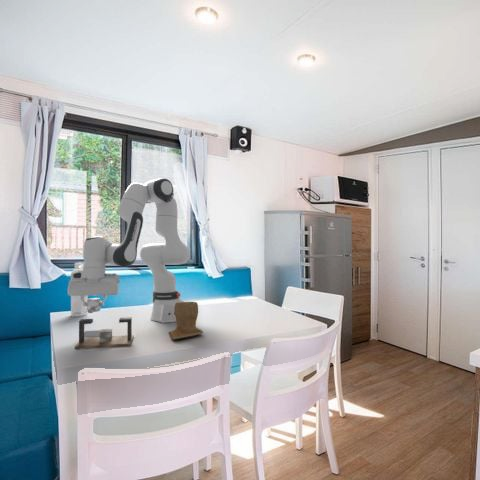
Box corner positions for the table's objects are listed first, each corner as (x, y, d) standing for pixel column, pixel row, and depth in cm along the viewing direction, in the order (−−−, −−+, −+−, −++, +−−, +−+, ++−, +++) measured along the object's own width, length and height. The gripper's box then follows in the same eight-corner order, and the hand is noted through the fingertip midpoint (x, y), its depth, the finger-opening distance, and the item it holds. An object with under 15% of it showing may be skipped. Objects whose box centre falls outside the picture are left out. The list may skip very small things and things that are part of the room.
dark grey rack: (133, 337, 139) (133, 315, 139) (130, 346, 128) (130, 321, 128) (82, 339, 135) (82, 316, 135) (74, 349, 124) (74, 323, 124)
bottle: (76, 317, 171) (76, 263, 171) (67, 315, 175) (67, 262, 175) (90, 314, 178) (91, 262, 178) (81, 312, 182) (82, 261, 182)
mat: (107, 331, 147) (107, 330, 147) (103, 337, 138) (103, 336, 138) (85, 332, 145) (85, 330, 145) (80, 338, 136) (80, 337, 136)
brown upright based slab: (192, 329, 151) (192, 297, 151) (206, 336, 142) (206, 301, 141) (161, 335, 141) (162, 301, 141) (174, 343, 132) (175, 306, 132)
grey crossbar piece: (97, 313, 136) (97, 301, 136) (83, 313, 135) (83, 301, 135) (102, 307, 148) (103, 296, 148) (90, 308, 147) (90, 296, 147)
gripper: (120, 272, 146) (120, 303, 146) (71, 273, 142) (70, 304, 142) (118, 274, 140) (118, 306, 140) (66, 274, 136) (66, 307, 136)
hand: (93, 305), depth 141 cm, fingers closed on grey crossbar piece, 5 cm apart
